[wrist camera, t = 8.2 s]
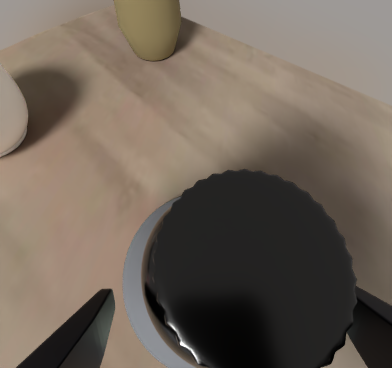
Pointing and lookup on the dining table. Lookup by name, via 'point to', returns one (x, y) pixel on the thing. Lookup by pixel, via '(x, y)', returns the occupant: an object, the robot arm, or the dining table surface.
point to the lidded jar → (11, 114)
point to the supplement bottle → (248, 275)
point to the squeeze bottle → (149, 26)
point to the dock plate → (135, 296)
